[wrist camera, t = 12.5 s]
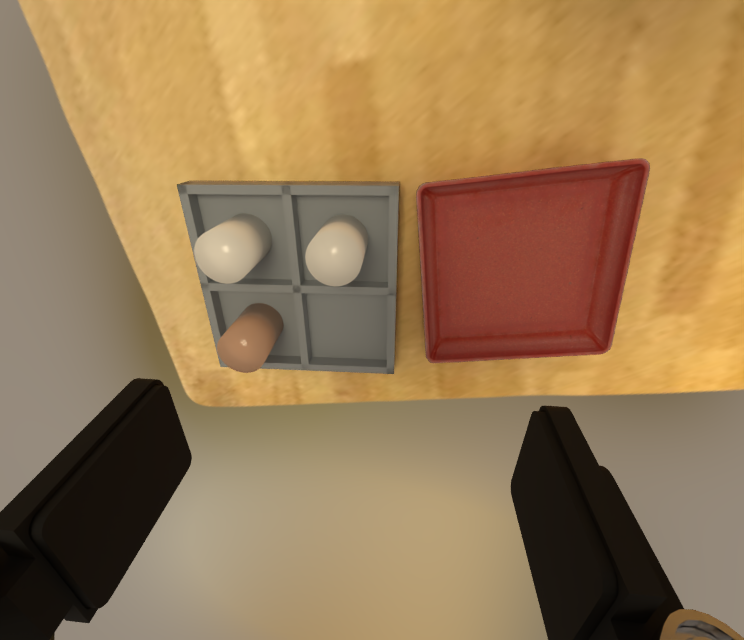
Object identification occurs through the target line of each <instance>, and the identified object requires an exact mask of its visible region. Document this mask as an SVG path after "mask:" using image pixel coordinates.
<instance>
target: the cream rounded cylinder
mask: <svg viewBox="0 0 744 640" xmlns="http://www.w3.org/2000/svg"><path fill="white" fill-rule="evenodd" d="M367 246H368V233H367V230H366V228H365V227H364V225H363V224H362V223H361V222H360V221H359V220H358V219H357V218H355V217H353V216H350V215H345V214H341V215H336V216H333V217H331V218H330V219H328V220H327V221H326V222H325V223H324V225H323V226H322V227H321V229H320V230H319V231H318V233H317V234H316V235H315V236H314V238H313V239H312V240H311V242H310V243H309V245H308V247H307V249H306V254H305V260H306V265H307V268H308V270H309V271H310V273H311V274H312V276H313V277H314V278H315V279H317V280H318V281H319V282H321V283H323V284H325V285H329V286H343V285H346V284H348V283H350V282H351V281H353V280H354V279H355V278H356V277H357V275H358V274H359V272H360V269H361V266H362V263H363V259H364V256H365V253H366V249H367Z"/></svg>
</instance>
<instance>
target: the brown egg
mask: <svg viewBox="0 0 744 640" xmlns="http://www.w3.org/2000/svg"><path fill="white" fill-rule="evenodd" d="M283 326H284V325H283V319H282V317H281V315H280V314H279V312H278V311H277V310H276V309H274V308H273V307H271V306H269V305H267V304H263V303H254V304H251V305H249V306H248V307H246V308H245V309H244V311H243V312H242V313H241V314H240V315H239V317H238V318H237V319H236V320H235V321H234V322H233V324H232V325H231V326H230V327H229V328H228V330H227V331H226V332H225V333H224V334H223V335H222V337H221V338H220V339H219V341H218V344H217V351H218V355H219V357H220V358H221V360H222V361H223V362H224V363H225V364H226V365H227V366H228V367H230V368H231V369H233V370H236V371H239V372H245V373H248V372H254V371H256V370H258V369H259V368H261V367H262V365H263V364H264V362H265V360H266V359H267V357H268V355H269V353H270V352H271V350H272V348H273V346H274V345H275V343H276V341H277V340H278V338H279V336H280V334H281V333H282V331H283Z"/></svg>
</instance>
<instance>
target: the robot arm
mask: <svg viewBox="0 0 744 640" xmlns="http://www.w3.org/2000/svg"><path fill="white" fill-rule="evenodd" d="M191 459H192V457H191V452H190V449H189V446H188V443H187V441H186V438H185V435H184V432H183V429H182V426H181V423H180V420H179V417H178V414H177V412H176V409H175V406H174V403H173V400H172V397H171V394H170V391H169V389H168V387H166V386H164V385H163V383H162V382H161V381H160V380H155V379H140V378H137V379H134V380H133V381H131V382H130V383H129V384H128V385H127V386H126V387H125V388H124V389H123V390H122V391H121V392H120V393H119V394H118V395H117V396H116V397H115V398H114V399H113V400H112V401H111V402H110V403H109V404H108V405H107V406H106V407H105V408H104V409H103V410H102V411H101V412H100V413H99V414H98V415H97V416H96V417H95V418H94V419H93V420H92V421H91V422H90V423H89V424H88V425H87V426H86V427H85V428H84V429H83V430H82V431H81V432H80V433H79V434H78V435H77V436H76V437H75V438H74V439H73V440H72V441H71V442H70V443H69V444H68V445H67V446H66V447H65V448H64V449H63V450H62V451H61V452H60V453H59V454H58V455H57V456H56V457H55V458H54V459H53V460H52V461H51V462H50V463H49V464H48V465H47V466H46V467H45V468H44V469H43V470H42V471H41V472H40V473H39V474H38V475H37V476H36V477H35V478H34V479H33V480H32V481H31V482H30V483H29V484H28V485H27V486H26V487H25V488H24V489H23V490H22V491H21V492H20V493H19V494H18V495H17V496H16V497H15V498H14V499H13V500H12V501H11V502H10V503H9V504H8V505H7V506H6V507H5V508H4V509H3V510H2V511H1V512H0V640H54V633H55V631H56V629H57V628H58V626H59V625H60V623H61V622H62V620H63V619H65V620H66V621H75V622H83V623H90V621H91V619H92V617H93V616H94V614H95V613H96V611H97V610H98V608H101V607H103V606H104V605H105V604H106V603H107V602H108V601H109V599H110V598H111V596H112V595H113V593H114V591H115V590H116V588H117V586H118V585H119V583H120V581H121V580H122V578H123V576H124V575H125V573H126V571H127V570H128V568H129V566H130V565H131V563H132V561H133V560H134V558H135V557H136V555H137V553H138V551H139V550H140V548H141V547H142V545H143V543H144V542H145V540H146V538H147V536H148V535H149V533H150V532H151V530H152V528H153V527H154V525H155V523H156V522H157V520H158V518H159V517H160V515H161V513H162V512H163V510H164V508H165V507H166V505H167V504H168V502H169V500H170V499H171V497H172V495H173V494H174V492H175V490H176V489H177V487H178V485H179V484H180V482H181V480H182V479H183V477H184V476H185V474H186V472H187V470H188V469H189V467H190V464H191ZM511 495H512V499H513V503H514V507H515V511H516V515H517V519H518V523H519V527H520V530H521V534H522V538H523V542H524V546H525V550H526V554H527V558H528V562H529V566H530V570H531V574H532V577H533V581H534V585H535V589H536V593H537V597H538V601H539V605H540V608H541V613H542V617H543V620H544V624H545V629H546V632H547V636H548V640H744V638H743V637H742V636H740V635H739V634H738V633H737V632H735V631H734V630H733V629H732V628H730V627H729V626H728V625H727V624H725V623H723V622H721V621H719V620H718V619H716V618H714V617H712V616H710V615H709V614H706V613H702V612H699V611H696V610H693V609H692V610H691V609H690V610H689V609H688V610H687V609H684V608H683V606H682V604H681V602H680V600H679V599H678V596H677V595H676V593H675V591H674V589H673V587H672V585H671V584H670V582H669V580H668V578H667V576H666V574H665V572H664V570H663V569H662V567H661V565H660V563H659V561H658V559H657V557H656V556H655V554H654V552H653V550H652V548H651V546H650V544H649V543H648V541H647V539H646V537H645V535H644V533H643V531H642V530H641V528H640V526H639V524H638V522H637V520H636V518H635V517H634V515H633V513H632V511H631V509H630V507H629V506H628V504H627V502H626V500H625V498H624V496H623V494H622V492H621V491H620V489H619V487H618V485H617V483H616V481H615V480H614V478H613V476H612V475H611V473H610V472H609V470H608V469H606V468H605V467H603V466H599V465H598V463H597V461H596V459H595V457H594V455H593V453H592V451H591V449H590V447H589V445H588V443H587V441H586V439H585V437H584V436H583V434H582V432H581V430H580V428H579V426H578V424H577V422H576V420H575V418H574V416H573V414H572V412H571V411H570V409H569V408H567V407H557V406H541V407H540V410H539V411H533V412H532V414H531V417H530V421H529V424H528V427H527V431H526V434H525V437H524V441H523V444H522V447H521V450H520V454H519V457H518V461H517V464H516V467H515V470H514V474H513V477H512V480H511Z"/></svg>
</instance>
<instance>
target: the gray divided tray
mask: <svg viewBox="0 0 744 640" xmlns="http://www.w3.org/2000/svg"><path fill="white" fill-rule="evenodd" d="M177 188H178V192H179V196H180V200H181V205H182V209H183V213H184V217H185V221H186V225H187V230H188V234H189V238H190V242H191V246H192V250H193V254H194V247H195V243H196V241H197V239H198V238H199V237H200V236H201V235H202V234H203V233H205V232H207V231H209V230H210V229H212V228H214V227H216V226H217V225H219V224H221V223H223V222H224V221H226V220H228V219H230V218H231V217H233V216H235V215H237V214H241V213H247V214H252V215H254V216H256V217H258V218H260V219H261V220H262V221H263V222H264V223H265V224H266V225H267V227H268V228H269V230H270V233H271V236H272V246H271V249H270V251H269V253H268V254H267V255H266V256H265V257H264V258H263V259H262V260H261V261H260V262H259V263H258V264H257V265H256V266H255V267H254V268H253V269H252V270H251V271H250V272H249V273H248V274H247V275H246V276H245V277H244V278H242V279H241V280H240V281H238V282H235V283H231V284H225V283H220V282H217V281H214V280H212V279H211V278H209V277H208V276H207V275H205V274H204V273H203V272H202V270H201V269H200V268H199V266H198V264H197V262H196V259H195V255H194V259H195V263H196V267H197V271H198V275H199V279H200V283H201V288H202V292H203V296H204V300H205V304H206V308H207V313H208V317H209V321H210V325H211V329H212V333H213V337H214V342H215V346H216V350H217V344H218V341H219V339H220V338H221V337H222V335H223V334H224V333H225V332H226V331H227V330H228V328H229V327H230V326H231V325H232V324H233V322H234V321H235V320H236V319H237V318H238V317H239V315H240V314H241V313H242V312H243V311H244V309H245V308H246V307H248V306H249V305H251V304H254V303H263V304H267V305H269V306H271V307H273V308H274V309H276V310H277V311H278V312H279V314H280V315H281V317H282V319H283V325H284V326H283V331H282V333H281V334H280V336H279V338H278V340H277V341H276V343H275V345H274V346H273V348H272V350H271V352H270V353H269V355H268V357H267V359H266V360H265V362H264V364H263V365H262V367H261V368H263V369H287V370H311V371H335V372H359V373H383V374H394V361H395V323H396V286H397V248H398V210H399V182H357V181H187V182H184V183H180V184H177ZM341 214H345V215H350V216H353V217H355V218H357V219H358V220H359V221H360V222H361V223H362V224H363V225H364V227H365V228H366V230H367V233H368V246H367V249H366V253H365V256H364V259H363V263H362V266H361V269H360V272H359V274H358V275H357V277H356V278H355V279H354V280H353V281H351V282H350V283H348V284H346V285H343V286H329V285H325V284H323V283H321V282H319V281H318V280H317V279H315V278H314V277H313V276H312V274H311V273H310V271H309V270H308V268H307V265H306V260H305V254H306V249H307V247H308V245H309V243H310V242H311V240H312V239H313V238H314V236H315V235H316V234H317V233H318V231H319V230H320V229H321V227H322V226H323V225H324V223H325V222H326V221H327V220H328V219H330V218H331V217H333V216H336V215H341ZM217 354H218V351H217ZM218 358H219V362H220V367H228V366H227V365H226V364H225V363H224V362H223V361H222V360H221V358H220V357H219V355H218Z"/></svg>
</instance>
